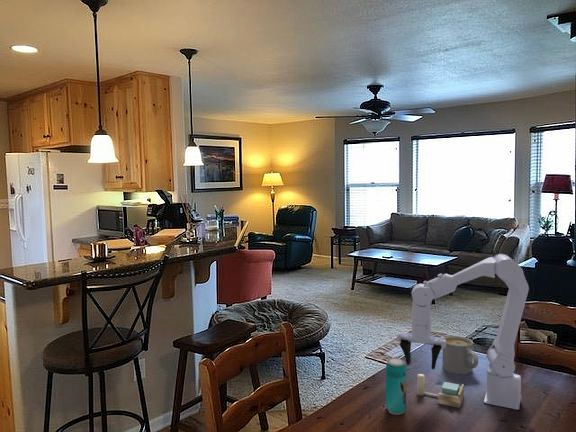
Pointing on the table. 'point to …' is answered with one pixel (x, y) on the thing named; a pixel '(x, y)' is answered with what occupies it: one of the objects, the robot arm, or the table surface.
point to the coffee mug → (459, 355)
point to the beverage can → (396, 386)
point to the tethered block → (446, 388)
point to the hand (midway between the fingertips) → (420, 365)
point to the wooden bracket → (452, 398)
